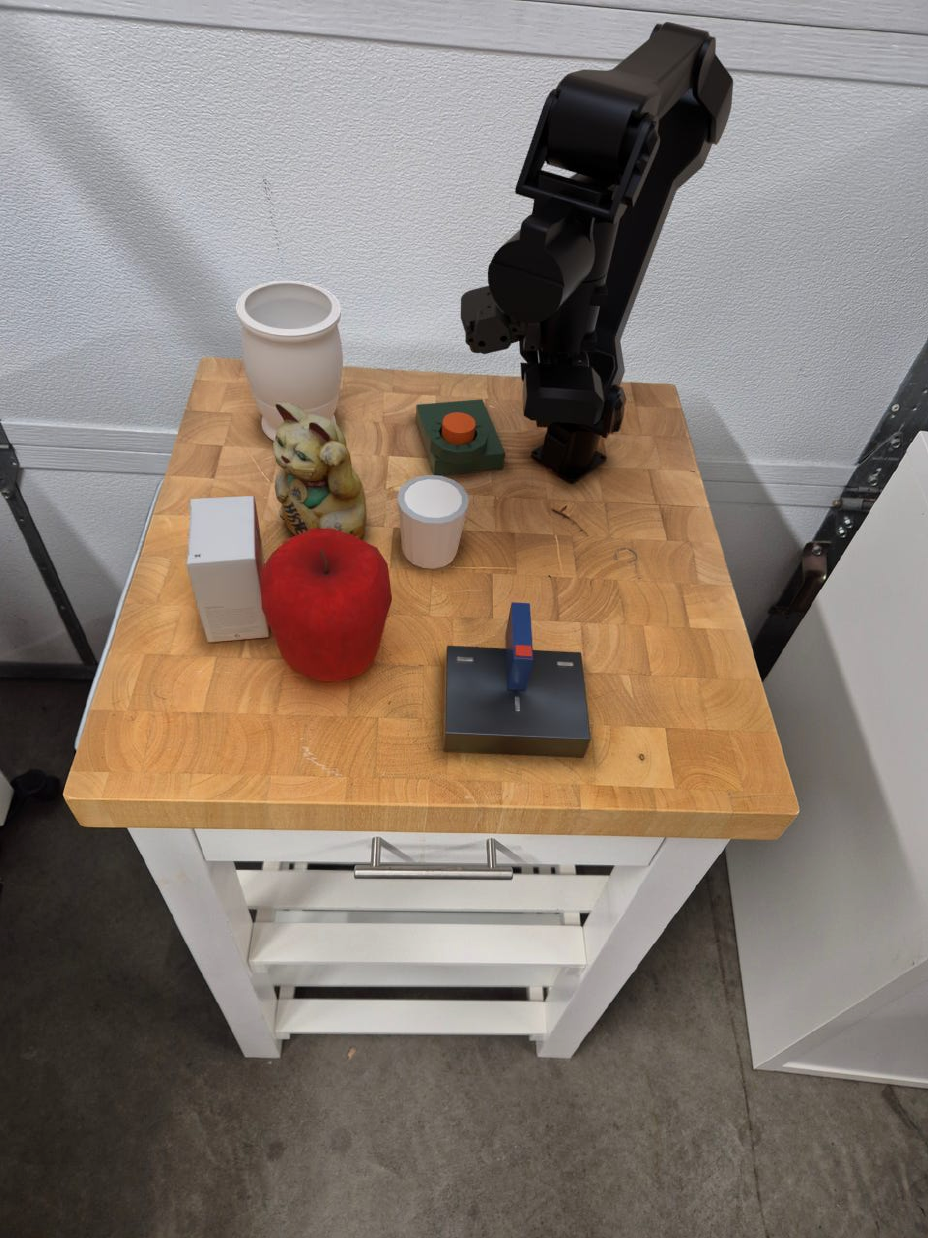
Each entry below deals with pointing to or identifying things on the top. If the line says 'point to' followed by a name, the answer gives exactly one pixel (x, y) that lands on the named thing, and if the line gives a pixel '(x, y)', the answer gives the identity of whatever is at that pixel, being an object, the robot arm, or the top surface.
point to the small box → (227, 567)
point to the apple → (326, 602)
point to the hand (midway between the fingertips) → (541, 424)
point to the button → (458, 428)
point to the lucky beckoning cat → (316, 475)
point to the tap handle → (518, 646)
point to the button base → (459, 458)
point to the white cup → (431, 519)
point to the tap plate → (514, 704)
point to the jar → (291, 349)
